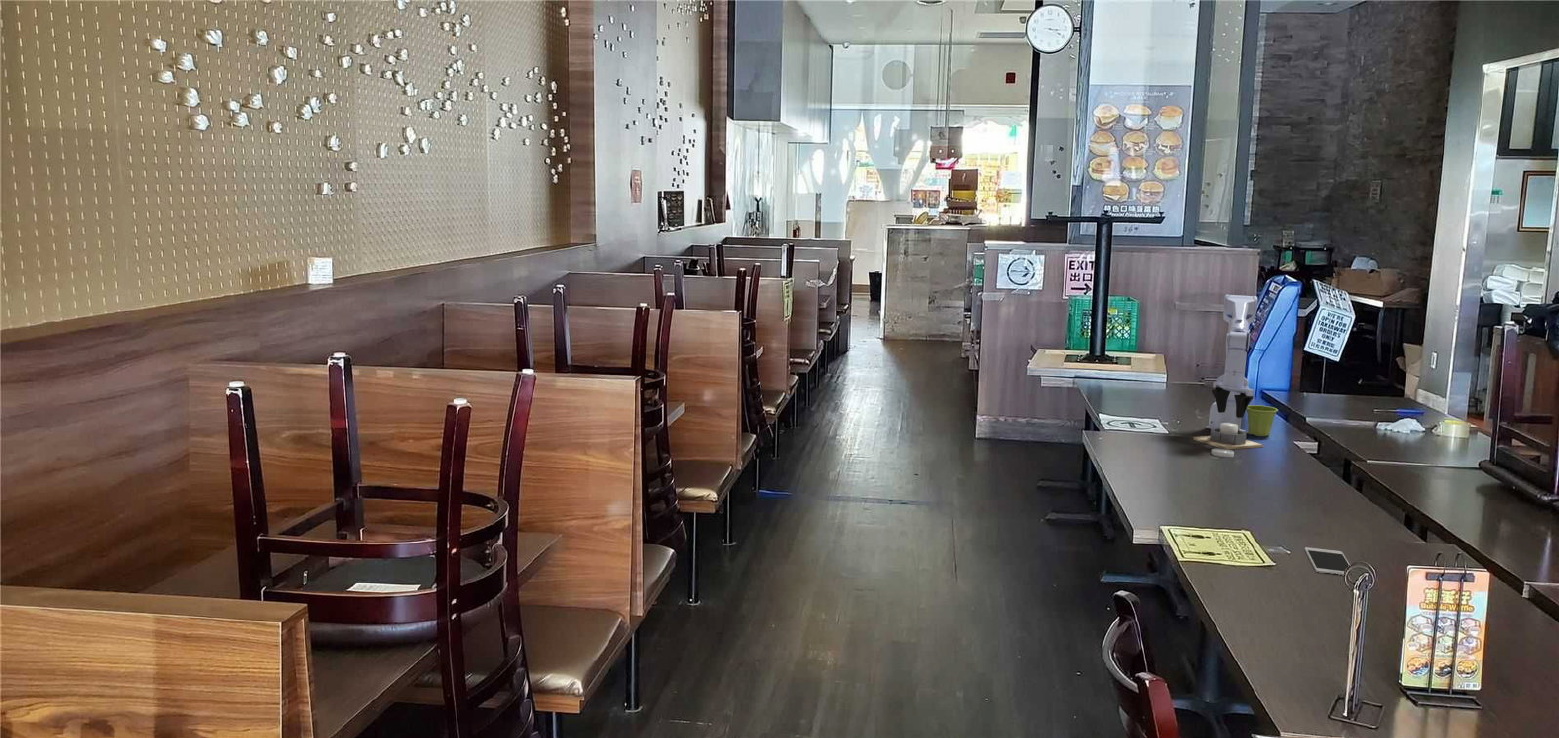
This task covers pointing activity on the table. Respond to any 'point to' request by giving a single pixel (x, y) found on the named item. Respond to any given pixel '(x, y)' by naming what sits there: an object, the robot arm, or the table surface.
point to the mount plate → (1228, 446)
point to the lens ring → (1228, 437)
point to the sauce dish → (1223, 453)
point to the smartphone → (1327, 560)
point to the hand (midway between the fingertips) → (1230, 415)
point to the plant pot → (1260, 419)
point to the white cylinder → (1228, 428)
